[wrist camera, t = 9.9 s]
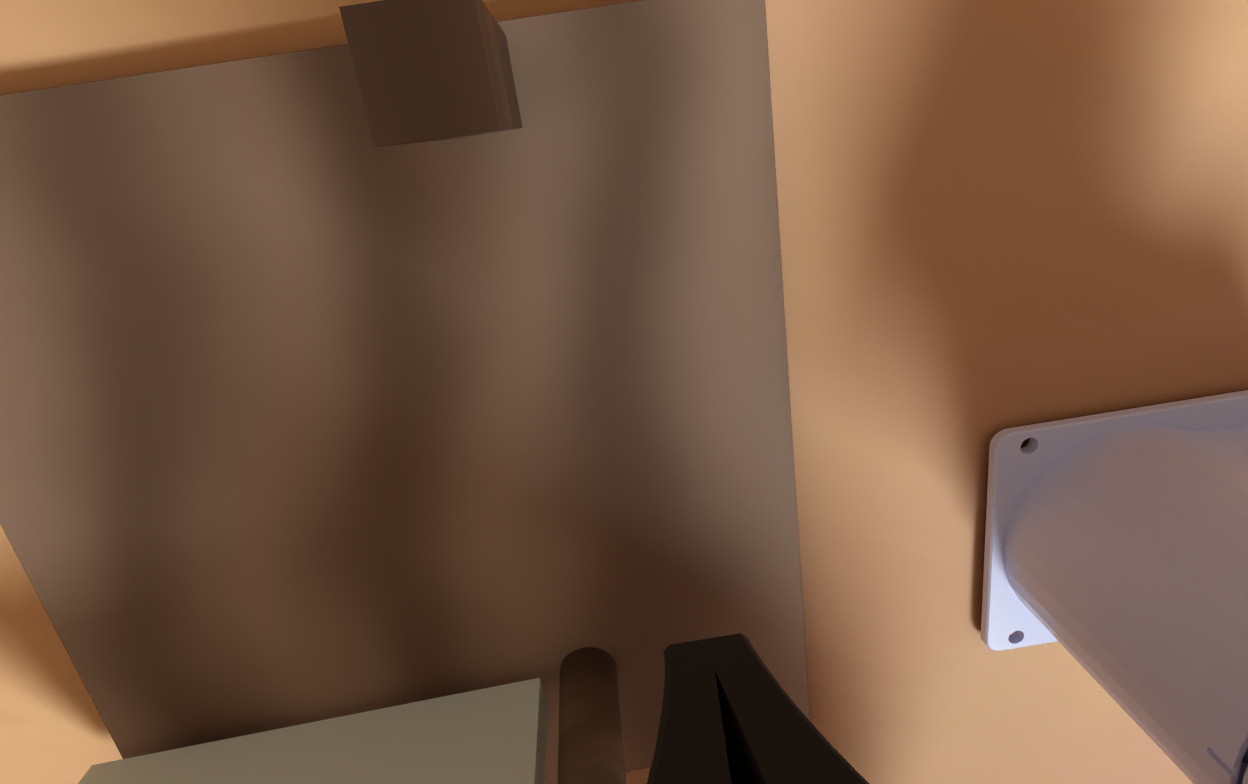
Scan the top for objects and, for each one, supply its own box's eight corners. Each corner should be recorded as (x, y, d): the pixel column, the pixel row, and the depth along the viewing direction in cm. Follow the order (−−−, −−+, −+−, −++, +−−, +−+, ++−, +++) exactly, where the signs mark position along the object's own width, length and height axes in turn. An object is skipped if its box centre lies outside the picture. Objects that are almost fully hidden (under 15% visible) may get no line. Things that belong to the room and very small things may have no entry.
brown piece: (757, -14, 17) (865, -95, 11) (805, 726, 25) (883, 923, 19) (-181, 126, 16) (-630, 126, 10) (178, 830, 25) (47, 1065, 18)
